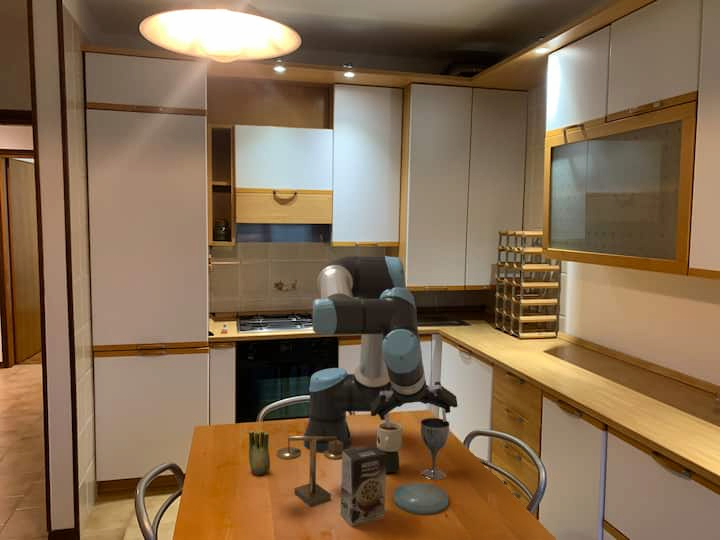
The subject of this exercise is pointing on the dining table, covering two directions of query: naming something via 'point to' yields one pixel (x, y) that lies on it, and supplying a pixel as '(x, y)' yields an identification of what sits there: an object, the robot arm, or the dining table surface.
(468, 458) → the dining table surface
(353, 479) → the coffee box
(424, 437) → the wine glass
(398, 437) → the character mug
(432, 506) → the dish
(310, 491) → the balance
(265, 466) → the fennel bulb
